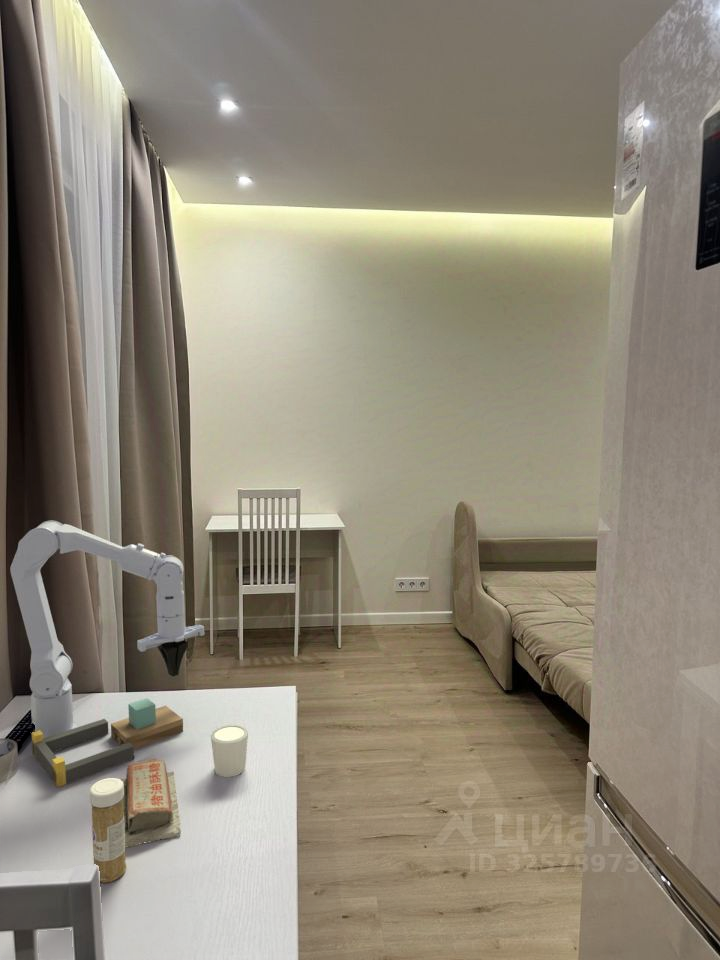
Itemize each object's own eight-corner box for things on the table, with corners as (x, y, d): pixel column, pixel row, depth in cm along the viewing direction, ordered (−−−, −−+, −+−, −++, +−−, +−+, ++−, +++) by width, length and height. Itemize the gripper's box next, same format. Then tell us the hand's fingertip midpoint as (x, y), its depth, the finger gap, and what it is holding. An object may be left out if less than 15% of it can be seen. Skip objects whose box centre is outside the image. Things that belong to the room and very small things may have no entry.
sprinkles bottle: (87, 874, 91) (83, 786, 90) (117, 857, 95) (113, 772, 93) (103, 889, 88) (99, 799, 87) (133, 871, 92) (129, 784, 90)
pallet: (111, 737, 130) (110, 723, 130) (166, 718, 138) (165, 705, 138) (126, 752, 124) (126, 738, 124) (183, 732, 132) (182, 718, 132)
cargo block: (129, 722, 131) (128, 703, 130) (147, 716, 133) (147, 698, 133) (137, 729, 128) (136, 710, 127) (155, 722, 130) (155, 704, 130)
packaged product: (115, 762, 113) (173, 752, 116) (116, 788, 113) (173, 777, 116) (113, 823, 96) (180, 809, 99) (114, 853, 96) (181, 838, 100)
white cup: (231, 754, 123) (230, 720, 123) (256, 766, 119) (255, 731, 119) (203, 770, 118) (202, 735, 117) (228, 783, 114) (228, 746, 113)
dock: (32, 753, 123) (31, 732, 123) (104, 730, 133) (103, 710, 132) (57, 787, 112) (56, 764, 112) (133, 758, 122) (133, 737, 121)
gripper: (146, 625, 127) (149, 690, 129) (210, 610, 137) (212, 670, 139) (132, 617, 133) (134, 679, 134) (194, 603, 142) (197, 661, 144)
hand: (173, 674), depth 137 cm, fingers closed
